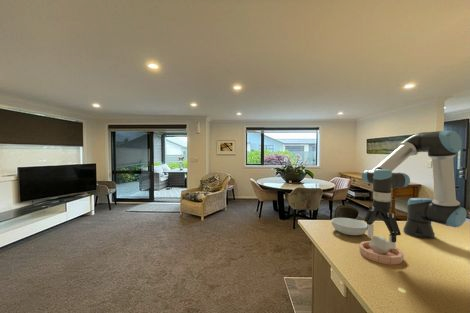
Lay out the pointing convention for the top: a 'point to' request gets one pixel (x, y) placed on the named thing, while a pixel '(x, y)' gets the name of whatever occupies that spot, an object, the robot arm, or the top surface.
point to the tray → (391, 258)
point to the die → (379, 245)
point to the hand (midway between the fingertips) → (380, 242)
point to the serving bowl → (349, 226)
